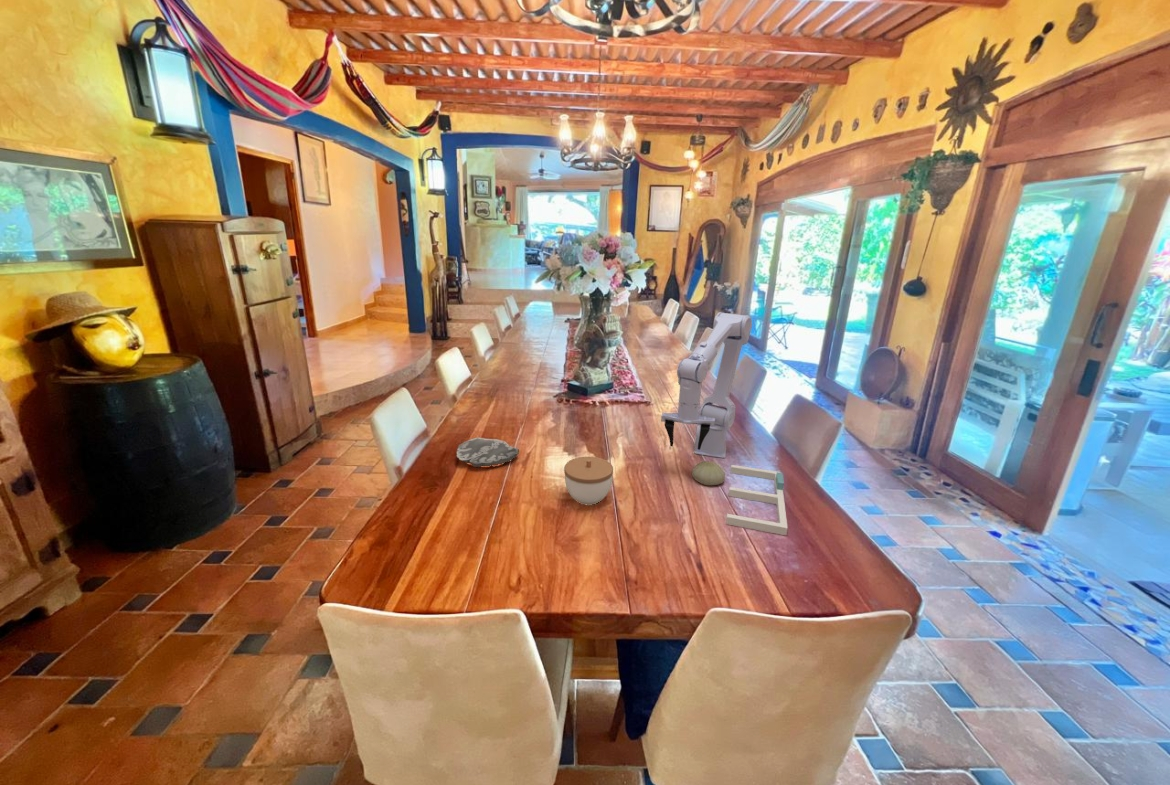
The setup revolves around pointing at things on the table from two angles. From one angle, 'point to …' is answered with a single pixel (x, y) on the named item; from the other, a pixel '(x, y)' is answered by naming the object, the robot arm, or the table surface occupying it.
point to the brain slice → (486, 452)
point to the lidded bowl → (588, 479)
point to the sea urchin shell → (708, 473)
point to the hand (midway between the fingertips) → (685, 446)
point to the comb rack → (762, 497)
